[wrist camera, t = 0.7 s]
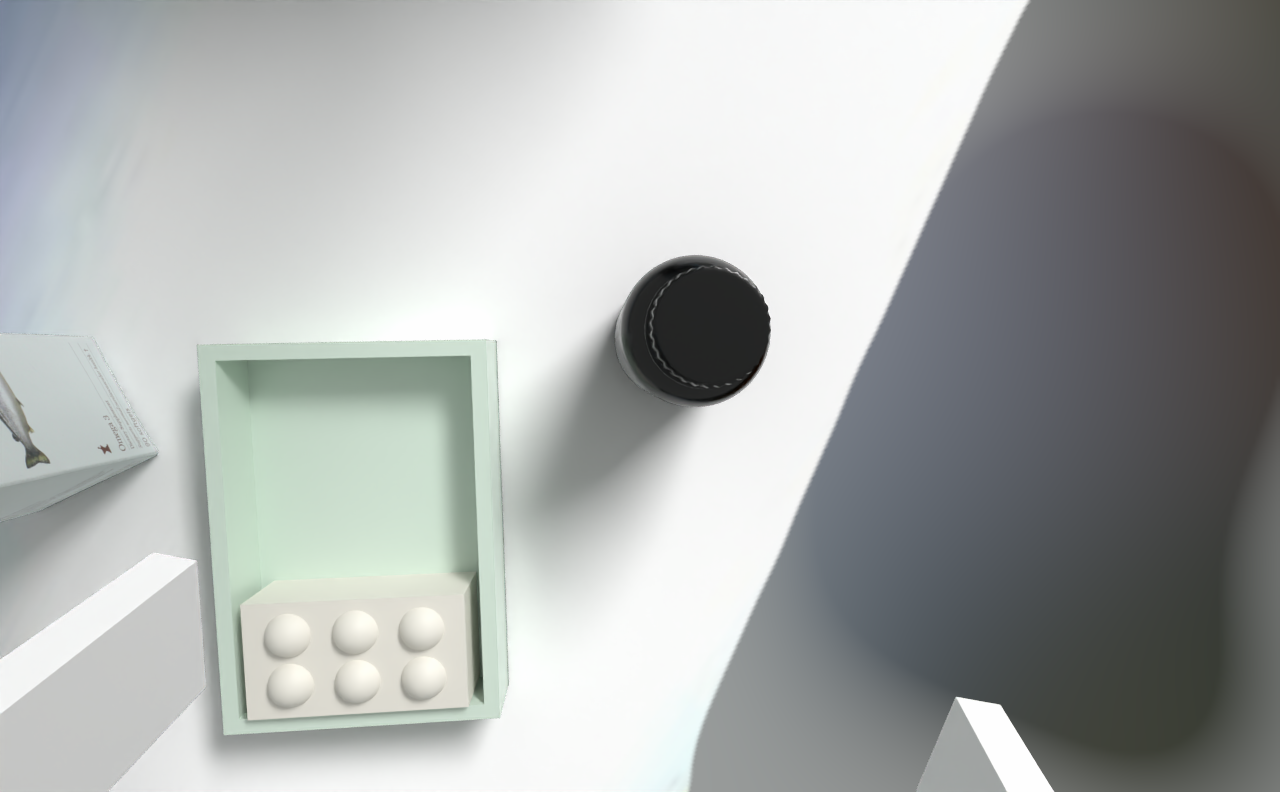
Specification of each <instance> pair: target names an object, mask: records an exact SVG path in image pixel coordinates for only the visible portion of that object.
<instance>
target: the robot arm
mask: <svg viewBox="0 0 1280 792" xmlns="http://www.w3.org/2000/svg"><path fill="white" fill-rule="evenodd" d="M205 688H206V675H205V661H204V648H203V634H202V620H201V606H200V593H199V579H198V565H197V560H191V559H186V558H180V557H175V556H169V555H164V554H158V553H152V554H150V555H149V556H147V557H146V558H145V559H143V560H142V561H140V562H139V563H137V564H136V565H135V566H133V567H132V568H130V569H129V570H127V571H126V572H125V573H123V574H122V575H120V576H119V577H117V578H116V579H114V580H113V581H112V582H110V583H109V584H107V585H106V586H104V587H103V588H102V589H100V590H99V591H97V592H96V593H94V594H93V595H92V596H90V597H89V598H87V599H86V600H84V601H83V602H82V603H80V604H79V605H77V606H76V607H74V608H73V609H72V610H70V611H69V612H67V613H66V614H64V615H63V616H62V617H60V618H59V619H57V620H56V621H54V622H53V623H52V624H50V625H49V626H47V627H46V628H44V629H43V630H42V631H40V632H39V633H37V634H36V635H34V636H33V637H32V638H30V639H29V640H27V641H26V642H24V643H23V644H22V645H20V646H19V647H17V648H16V649H14V650H13V651H12V652H10V653H9V654H7V655H6V656H4V657H3V658H2V659H0V792H108V791H109V790H110V789H111V788H112V787H113V786H114V785H115V784H116V782H117V781H118V780H119V779H120V778H121V777H122V776H123V775H124V774H125V773H126V772H127V771H128V770H129V769H130V768H131V767H132V765H133V764H134V763H135V762H136V761H137V760H138V759H139V758H140V757H141V756H142V755H143V754H144V753H145V752H146V751H147V750H148V748H149V747H150V746H151V745H152V744H153V743H154V742H155V741H156V740H157V739H158V738H159V737H160V736H161V735H162V734H163V733H164V731H165V730H166V729H167V728H168V727H169V726H170V725H171V724H172V723H173V722H174V721H175V720H176V719H177V718H178V717H179V716H180V714H181V713H182V712H183V711H184V710H185V709H186V708H187V707H188V706H189V705H190V704H191V703H192V702H193V701H194V700H195V699H196V697H197V696H198V695H199V694H200V693H201V692H202V691H203V690H204V689H205ZM916 792H1054V791H1053V790H1052V788H1051V786H1050V785H1049V783H1048V782H1047V780H1046V778H1045V777H1044V775H1043V773H1042V772H1041V770H1040V769H1039V767H1038V765H1037V764H1036V762H1035V761H1034V759H1033V757H1032V756H1031V754H1030V752H1029V751H1028V749H1027V748H1026V746H1025V745H1024V743H1023V741H1022V739H1021V738H1020V736H1019V735H1018V733H1017V731H1016V730H1015V728H1014V727H1013V725H1012V723H1011V722H1010V720H1009V718H1008V717H1007V715H1006V714H1005V712H1004V710H1003V709H1002V707H1001V705H998V704H992V703H987V702H981V701H976V700H969V699H964V698H959V697H956V698H955V700H954V702H953V705H952V707H951V710H950V712H949V714H948V716H947V719H946V721H945V724H944V726H943V728H942V731H941V733H940V735H939V738H938V740H937V742H936V745H935V747H934V750H933V752H932V754H931V757H930V759H929V761H928V764H927V766H926V769H925V771H924V773H923V776H922V778H921V780H920V783H919V785H918V787H917V790H916Z"/></svg>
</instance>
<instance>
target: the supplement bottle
mask: <svg viewBox="0 0 1280 792" xmlns="http://www.w3.org/2000/svg"><path fill="white" fill-rule="evenodd" d="M770 319H771V318H770V316H769V313H768V306H767V305H766V303H765V301H764V297H763V295H762V294H761V293H760V291H759V290H758V288H757V286H756V285H755V284H754V283H753V282H752V280H751V279H750V278H749V277H748V276H747V275H746V274H744V273H743V272H742V271H741V270H739V269H738V268H737V267H735V266H733V265H731V264H730V263H728V262H725V261H723V260H720V259H717V258H714V257H709V256H702V255H689V256H682V257H677V258H674V259H671V260H668V261H666V262H664V263H662V264H660V265H658V266H656V267H655V268H653V269H652V270H650V271H649V272H648V273H647V274H645V275H644V276H643V277H642V278H641V279H640V280H639V282H638V283H637V284H636V285H635V286H634V288H633V289H632V291H631V292H630V294H629V296H628V298H627V300H626V302H625V304H624V306H623V307H622V309H621V312H620V314H619V316H618V320H617V323H616V328H615V348H616V353H617V356H618V359H619V362H620V364H621V366H622V368H623V370H624V371H625V373H626V374H627V375H628V377H629V378H630V379H631V380H632V381H633V382H634V383H635V384H636V385H638V386H639V387H640V388H642V389H643V390H644V391H646V392H648V393H650V394H652V395H654V396H656V397H658V398H660V399H662V400H664V401H666V402H669V403H672V404H675V405H680V406H686V407H704V406H710V405H714V404H718V403H721V402H723V401H726V400H728V399H730V398H732V397H734V396H735V395H737V394H738V393H740V392H741V391H742V390H743V389H744V388H746V387H747V386H748V385H749V384H750V383H751V381H752V380H753V379H754V378H755V377H756V375H757V374H758V372H759V371H760V369H761V367H762V365H763V363H764V361H765V358H766V355H767V352H768V348H769V344H770V332H771V328H770Z"/></svg>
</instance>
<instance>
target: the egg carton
mask: <svg viewBox="0 0 1280 792" xmlns="http://www.w3.org/2000/svg"><path fill="white" fill-rule="evenodd" d="M240 611H241V627H242V642H243V657H244V672H245V687H246V702H247V718H248V720H264V719H280V718H297V717H313V716H329V715H346V714H362V713H378V712H395V711H411V710H427V709H444V708H460V707H469V705H470V702H471V699H472V696H473V693H474V690H475V687H476V685H477V682H478V679H479V676H480V654H479V629H478V603H477V577H476V571H474V572H452V573H430V574H408V575H386V576H363V577H341V578H319V579H297V580H275V581H273V582H272V583H270V584H269V585H267V586H266V587H265V588H263V589H262V590H260V591H259V592H258V593H256V594H255V595H253V596H252V597H251V598H249V599H248V600H246V601H245V602H244V603H242V604H241V605H240Z"/></svg>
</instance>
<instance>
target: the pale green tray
mask: <svg viewBox="0 0 1280 792" xmlns="http://www.w3.org/2000/svg"><path fill="white" fill-rule="evenodd" d="M197 354H198V368H199V383H200V397H201V412H202V426H203V441H204V456H205V470H206V485H207V499H208V514H209V528H210V543H211V557H212V572H213V586H214V601H215V615H216V630H217V645H218V659H219V674H220V688H221V703H222V717H223V732H224V735H238V734H254V733H270V732H286V731H302V730H318V729H334V728H350V727H366V726H382V725H398V724H414V723H430V722H446V721H462V720H478V719H494V718H500V716H501V712H502V708H503V704H504V700H505V696H506V693H507V689H508V685H509V677H508V649H507V621H506V593H505V565H504V537H503V509H502V481H501V454H500V426H499V398H498V370H497V342H496V341H494V340H486V339H485V340H431V341H376V342H321V343H267V344H212V345H197ZM474 571H476V577H477V603H478V629H479V654H480V676H479V679H478V682H477V685H476V687H475V690H474V693H473V696H472V699H471V702H470V705H469V707H460V708H444V709H427V710H411V711H395V712H378V713H362V714H346V715H329V716H313V717H297V718H280V719H264V720H248V718H247V702H246V687H245V672H244V657H243V642H242V627H241V611H240V605H241V604H242V603H244V602H245V601H246V600H248V599H249V598H251V597H252V596H253V595H255V594H256V593H258V592H259V591H260V590H262V589H263V588H265V587H266V586H267V585H269V584H270V583H272V582H273V581H275V580H297V579H319V578H341V577H363V576H386V575H408V574H430V573H452V572H474Z"/></svg>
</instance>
